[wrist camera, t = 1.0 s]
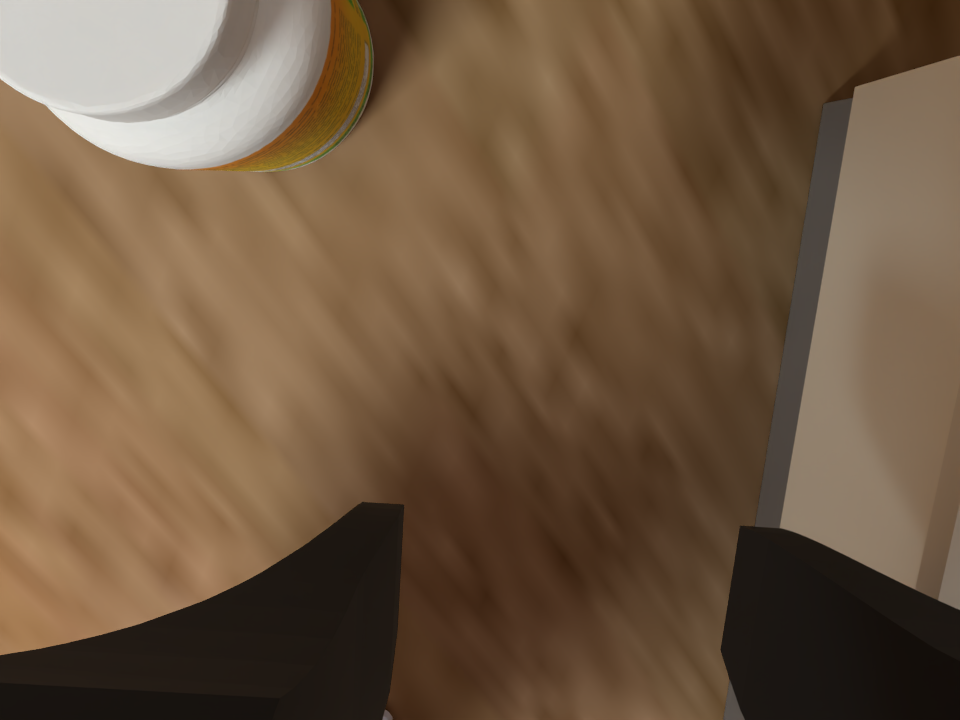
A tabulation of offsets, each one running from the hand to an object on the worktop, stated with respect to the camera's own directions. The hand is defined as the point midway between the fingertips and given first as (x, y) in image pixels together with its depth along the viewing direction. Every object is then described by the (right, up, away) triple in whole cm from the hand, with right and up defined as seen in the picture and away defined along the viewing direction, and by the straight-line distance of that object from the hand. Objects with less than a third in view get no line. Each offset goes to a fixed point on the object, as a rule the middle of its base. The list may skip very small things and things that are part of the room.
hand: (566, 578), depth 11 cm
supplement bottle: (-6, +11, +8) cm, 15 cm away
